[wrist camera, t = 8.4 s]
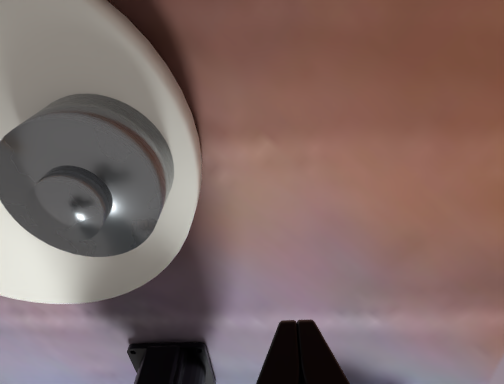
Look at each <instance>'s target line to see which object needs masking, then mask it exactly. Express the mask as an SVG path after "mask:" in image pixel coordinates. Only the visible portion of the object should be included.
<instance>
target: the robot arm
mask: <svg viewBox="0 0 504 384" xmlns="http://www.w3.org/2000/svg"><path fill="white" fill-rule="evenodd" d="M127 353H128V355H129V357H130V359H131V362H132V364H133V366H134V368H135V370H136V372H137V375H136V378H135V382H134V384H216V382H215V378H214V375H213V371H212V367H211V364H210V360H209V356H208V352H207V349H206V346H205V344H203V343H166V344H132V345H130V346H129V347H128V350H127ZM256 384H350V383H349V381H348V380H347V378H346V376H345V374H344V373H343V371H342V369H341V367H340V366H339V364H338V362H337V360H336V359H335V357H334V355H333V353H332V352H331V350H330V348H329V346H328V345H327V343H326V341H325V339H324V338H323V336H322V334H321V332H320V331H319V329H318V327H317V325H316V324H315V322H314V321H313V320H298V321H297V323H296V321H294V320H286V321H281V322H280V323H279V325H278V328H277V330H276V333H275V335H274V338H273V341H272V343H271V346H270V349H269V351H268V354H267V356H266V359H265V362H264V364H263V367H262V370H261V372H260V375H259V377H258V380H257V383H256Z"/></svg>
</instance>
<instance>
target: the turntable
mask: <svg viewBox="0 0 504 384" xmlns="http://www.w3.org/2000/svg"><path fill="white" fill-rule="evenodd" d="M74 94H98V95H103V96H107V97H111V98H114V99H116V100H119V101H121V102H123V103H126V104H128V105H129V106H131V107H133V108H134V109H136V110H138V111H139V112H140V113H142V114H143V115H144V116H145V117H147V118H148V119H149V120H150V121H151V122H152V123H153V124H154V125H155V126H156V128H157V129H158V130H159V131H160V133H161V134H162V136H163V137H164V139H165V140H166V142H167V144H168V146H169V149H170V152H171V154H172V158H173V163H174V180H173V184H172V188H171V190H170V192H169V195H168V197H167V200H166V202H165V205H164V207H163V209H162V212H161V214H160V217H159V219H158V221H157V224H156V226H155V228H154V230H153V232H152V233H151V235H150V236H149V237H148V238H147V239H146V240H145V241H144V242H143V243H142V244H141V245H139V246H138V247H136V248H135V249H133V250H131V251H128V252H126V253H123V254H119V255H115V256H108V257H89V256H82V255H76V254H72V253H69V252H65V251H63V250H60V249H57V248H55V247H53V246H50V245H48V244H46V243H45V242H43V241H41V240H39V239H38V238H36V237H35V236H33V235H32V234H30V233H29V232H28V231H26V230H25V229H24V228H23V227H22V226H20V225H19V224H18V223H17V222H16V221H15V220H14V219H13V217H12V216H11V215H10V214H9V213H8V211H7V210H6V208H5V207H4V205H3V204H2V202H1V201H0V295H1V296H5V297H9V298H13V299H18V300H24V301H30V302H37V303H49V304H79V303H89V302H96V301H101V300H106V299H110V298H114V297H117V296H120V295H123V294H126V293H128V292H130V291H132V290H134V289H136V288H139V287H141V286H143V285H144V284H146V283H147V282H149V281H150V280H152V279H153V278H155V277H156V276H157V275H158V274H159V273H161V272H162V271H163V270H164V269H165V268H166V267H167V266H168V265H169V264H170V263H171V261H172V260H173V259H174V258H175V256H176V255H177V254H178V252H179V251H180V249H181V247H182V245H183V244H184V242H185V240H186V238H187V236H188V233H189V230H190V227H191V224H192V221H193V218H194V214H195V211H196V207H197V204H198V200H199V195H200V189H201V182H202V156H201V149H200V142H199V137H198V133H197V130H196V126H195V123H194V119H193V116H192V113H191V111H190V108H189V106H188V104H187V101H186V99H185V97H184V94H183V92H182V90H181V88H180V87H179V85H178V83H177V81H176V80H175V78H174V76H173V75H172V73H171V71H170V69H169V68H168V66H167V65H166V63H165V62H164V61H163V59H162V58H161V57H160V55H159V54H158V52H157V51H156V50H155V48H154V47H153V46H152V44H151V43H150V42H149V41H148V40H147V38H146V37H145V36H144V35H143V34H142V33H141V32H140V31H139V30H138V29H137V28H136V27H135V26H134V25H133V23H132V22H131V21H130V20H129V19H128V18H127V17H126V16H125V15H123V14H122V13H121V12H120V11H119V10H118V9H116V8H115V7H114V6H113V5H112V4H111V3H109V2H108V1H107V0H0V141H1V140H2V138H3V137H4V136H5V135H6V134H7V133H9V132H10V131H11V130H12V129H14V128H15V127H17V126H18V125H20V124H21V123H23V122H24V121H26V120H27V119H28V118H30V117H31V116H33V115H34V114H36V113H37V112H39V111H40V110H42V109H43V108H45V107H46V106H48V105H49V104H51V103H52V102H54V101H56V100H58V99H60V98H63V97H66V96H69V95H74Z"/></svg>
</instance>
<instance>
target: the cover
mask: <svg viewBox="0 0 504 384" xmlns="http://www.w3.org/2000/svg"><path fill="white" fill-rule="evenodd" d="M173 180H174V163H173V158H172V154H171V152H170V149H169V146H168V144H167V142H166V140H165V139H164V137H163V136H162V134H161V133H160V131H159V130H158V129H157V128H156V126H155V125H154V124H153V123H152V122H151V121H150V120H149V119H148V118H147V117H145V116H144V115H143V114H142V113H140V112H139V111H138V110H136V109H134V108H133V107H131V106H129V105H128V104H126V103H123V102H121V101H119V100H116V99H114V98H111V97H107V96H103V95H98V94H74V95H69V96H66V97H63V98H60V99H58V100H56V101H54V102H52V103H51V104H49V105H48V106H46V107H45V108H43V109H42V110H40V111H39V112H37V113H36V114H34V115H33V116H31V117H30V118H28V119H27V120H26V121H24V122H23V123H21V124H20V125H18V126H17V127H15V128H14V129H12V130H11V131H10V132H9V133H7V134H6V135H5V136H4V137H3V138H2V140H1V141H0V201H1V202H2V204H3V205H4V207H5V208H6V210H7V211H8V213H9V214H10V215H11V216H12V217H13V219H14V220H15V221H16V222H17V223H18V224H19V225H20V226H22V227H23V228H24V229H25V230H26V231H28V232H29V233H30V234H32V235H33V236H35V237H36V238H38V239H39V240H41V241H43V242H45V243H46V244H48V245H50V246H53V247H55V248H57V249H60V250H63V251H65V252H69V253H72V254H76V255H82V256H89V257H108V256H115V255H119V254H123V253H126V252H128V251H131V250H133V249H135V248H136V247H138V246H139V245H141V244H142V243H143V242H144V241H145V240H146V239H147V238H148V237H149V236H150V235H151V233H152V232H153V230H154V228H155V226H156V224H157V221H158V219H159V217H160V214H161V212H162V209H163V207H164V205H165V202H166V200H167V197H168V195H169V192H170V190H171V188H172V184H173Z"/></svg>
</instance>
